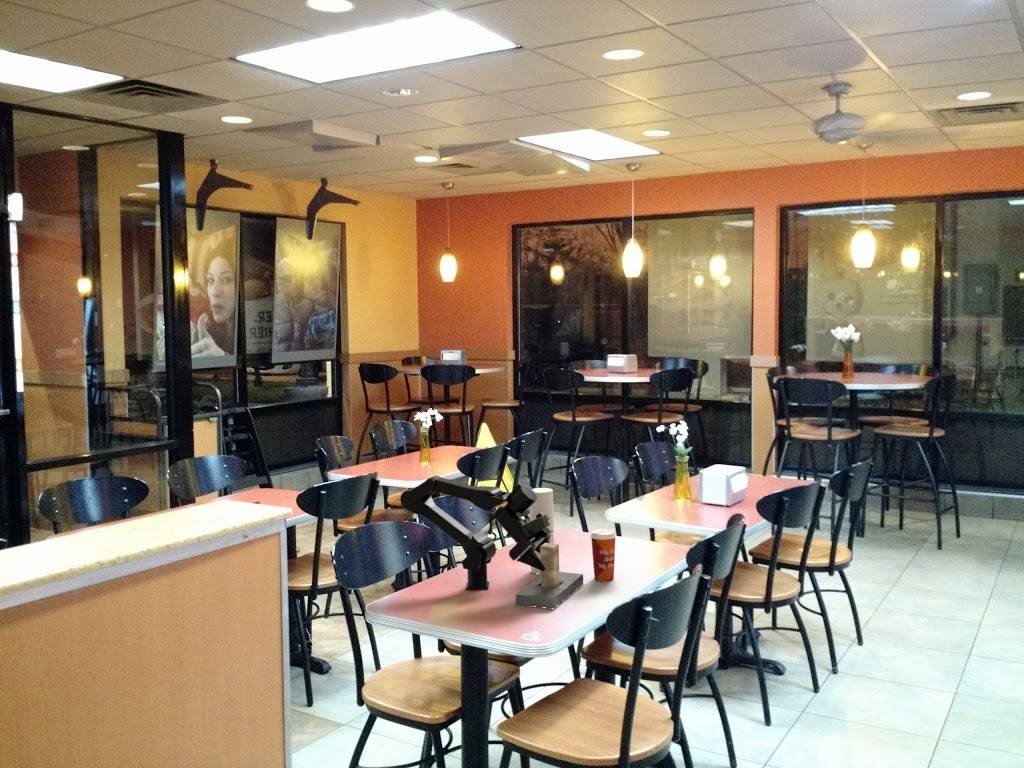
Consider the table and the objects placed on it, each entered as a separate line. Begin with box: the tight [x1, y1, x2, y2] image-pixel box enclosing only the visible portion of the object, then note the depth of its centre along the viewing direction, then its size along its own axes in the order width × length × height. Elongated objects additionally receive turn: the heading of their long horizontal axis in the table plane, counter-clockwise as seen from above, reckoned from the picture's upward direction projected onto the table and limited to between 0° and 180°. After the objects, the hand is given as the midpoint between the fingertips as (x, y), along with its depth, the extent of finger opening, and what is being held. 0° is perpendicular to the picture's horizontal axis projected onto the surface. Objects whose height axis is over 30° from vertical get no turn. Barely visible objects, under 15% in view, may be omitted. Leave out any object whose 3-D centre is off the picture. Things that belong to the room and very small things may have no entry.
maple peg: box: [540, 543, 560, 588], centre depth 255 cm, size 4×4×14 cm
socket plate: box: [515, 571, 584, 609], centre depth 256 cm, size 11×24×3 cm, turn 157°
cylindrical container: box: [529, 487, 555, 575], centre depth 278 cm, size 7×7×25 cm
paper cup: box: [589, 528, 617, 582], centre depth 269 cm, size 8×8×14 cm
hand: (550, 565), depth 255 cm, fingers open, 9 cm apart
